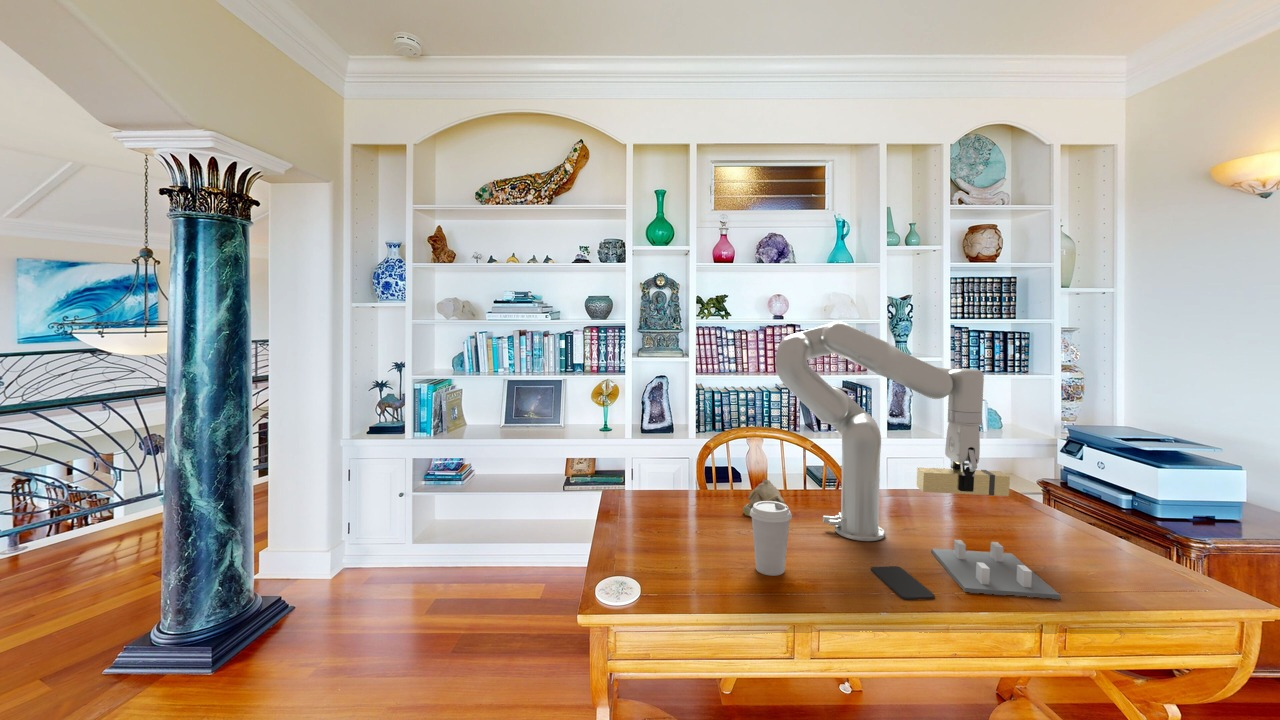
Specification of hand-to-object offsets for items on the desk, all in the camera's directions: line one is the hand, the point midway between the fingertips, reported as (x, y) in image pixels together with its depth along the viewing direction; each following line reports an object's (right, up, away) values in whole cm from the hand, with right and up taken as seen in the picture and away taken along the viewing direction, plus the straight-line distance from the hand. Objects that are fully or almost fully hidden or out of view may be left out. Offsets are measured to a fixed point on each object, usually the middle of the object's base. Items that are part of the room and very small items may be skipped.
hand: (961, 487), depth 142 cm
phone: (-25, -17, -20) cm, 36 cm away
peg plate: (-3, -16, -16) cm, 23 cm away
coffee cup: (-52, -17, -13) cm, 56 cm away
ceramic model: (-44, -14, +27) cm, 54 cm away
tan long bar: (0, -1, 0) cm, 1 cm away
